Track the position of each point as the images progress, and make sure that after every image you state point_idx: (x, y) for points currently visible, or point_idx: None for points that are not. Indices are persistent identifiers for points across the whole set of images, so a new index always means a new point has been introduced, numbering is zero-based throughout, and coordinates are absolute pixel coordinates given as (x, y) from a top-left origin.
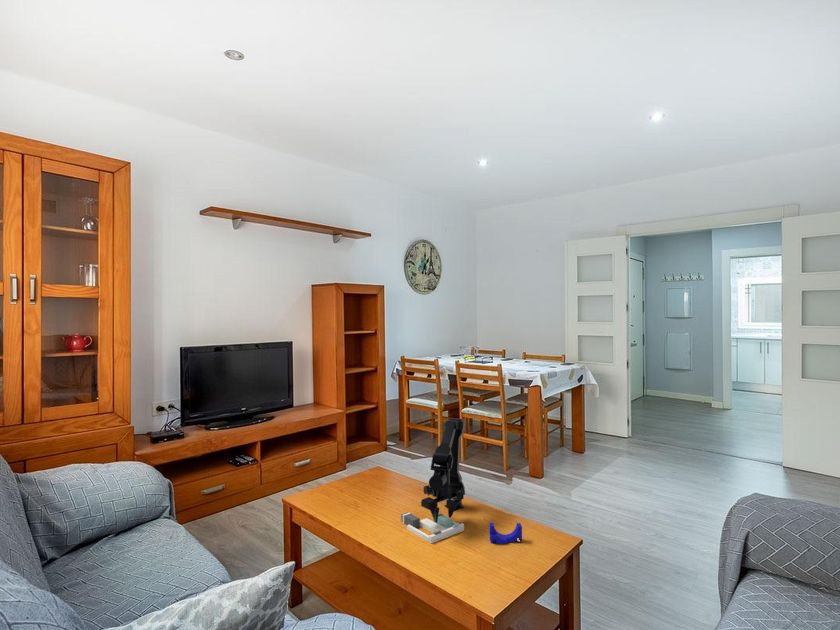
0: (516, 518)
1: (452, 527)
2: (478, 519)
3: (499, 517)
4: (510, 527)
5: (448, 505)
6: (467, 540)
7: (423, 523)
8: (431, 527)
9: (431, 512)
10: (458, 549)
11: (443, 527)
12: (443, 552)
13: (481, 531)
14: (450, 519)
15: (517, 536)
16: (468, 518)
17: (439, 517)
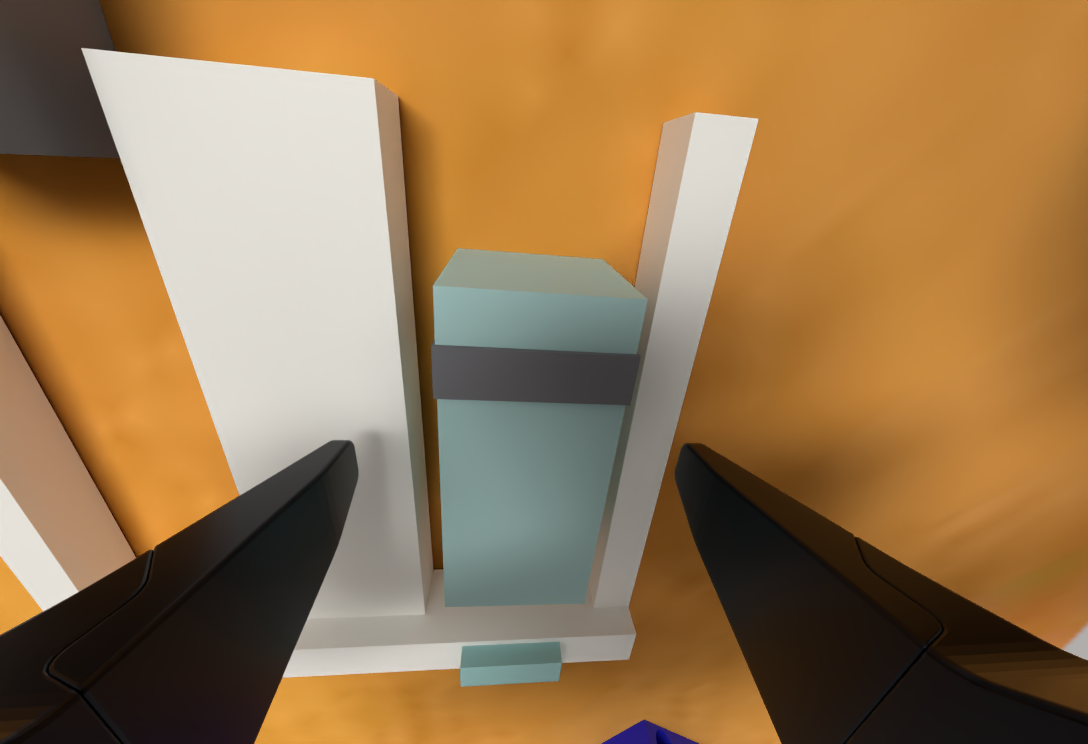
0: (1058, 646)
1: (458, 655)
2: (926, 517)
3: (1042, 583)
4: None
5: (869, 620)
6: (486, 689)
7: (154, 250)
8: (236, 461)
9: (59, 631)
10: (325, 731)
11: (408, 544)
12: None
13: (697, 654)
14: (568, 587)
15: None
16: (908, 445)
17: (475, 449)
